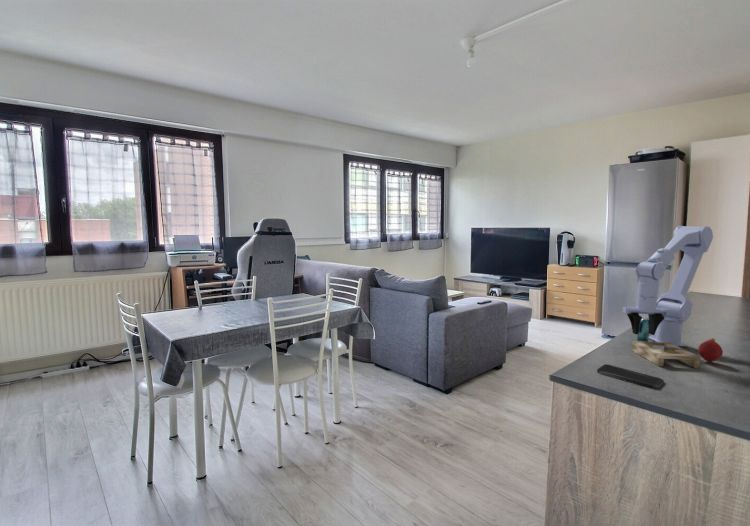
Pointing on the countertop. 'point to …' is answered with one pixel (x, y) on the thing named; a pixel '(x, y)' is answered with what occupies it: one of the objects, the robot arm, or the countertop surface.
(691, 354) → the beige wooden frame
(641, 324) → the peg
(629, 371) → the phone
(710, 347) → the onion
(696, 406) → the countertop surface
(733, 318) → the countertop surface
